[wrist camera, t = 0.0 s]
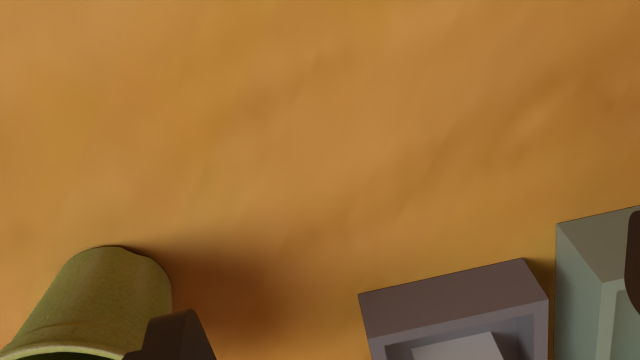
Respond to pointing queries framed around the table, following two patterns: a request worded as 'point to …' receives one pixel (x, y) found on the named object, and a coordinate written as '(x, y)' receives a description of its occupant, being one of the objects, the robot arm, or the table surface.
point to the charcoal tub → (460, 312)
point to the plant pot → (94, 308)
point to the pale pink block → (460, 349)
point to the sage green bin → (594, 290)
